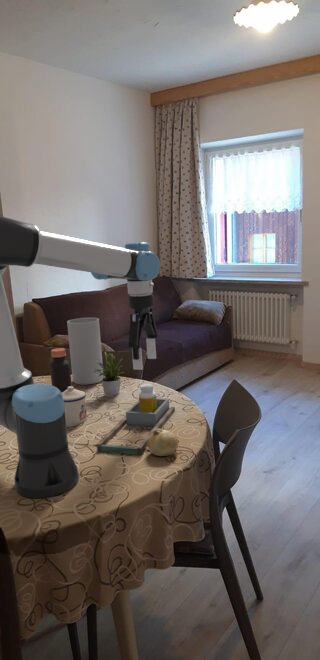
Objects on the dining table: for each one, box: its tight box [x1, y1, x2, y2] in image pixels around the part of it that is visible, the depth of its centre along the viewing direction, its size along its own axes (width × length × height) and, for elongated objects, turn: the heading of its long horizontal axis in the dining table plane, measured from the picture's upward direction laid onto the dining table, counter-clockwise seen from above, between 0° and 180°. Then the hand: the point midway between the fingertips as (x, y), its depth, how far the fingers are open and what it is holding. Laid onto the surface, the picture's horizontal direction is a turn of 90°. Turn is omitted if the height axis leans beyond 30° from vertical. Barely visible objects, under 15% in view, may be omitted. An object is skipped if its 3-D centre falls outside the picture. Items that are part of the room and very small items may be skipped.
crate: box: [125, 397, 171, 428], centre depth 159 cm, size 14×10×4 cm
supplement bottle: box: [138, 383, 157, 413], centre depth 159 cm, size 5×5×10 cm
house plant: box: [94, 351, 125, 398], centre depth 186 cm, size 14×14×16 cm
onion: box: [147, 428, 179, 457], centre depth 135 cm, size 8×8×7 cm
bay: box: [96, 406, 176, 455], centre depth 152 cm, size 32×13×2 cm, turn 162°
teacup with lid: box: [62, 385, 88, 427], centre depth 162 cm, size 12×9×12 cm
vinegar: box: [49, 347, 73, 393], centre depth 177 cm, size 7×7×20 cm
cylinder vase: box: [66, 317, 105, 386], centre depth 204 cm, size 12×12×25 cm
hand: (145, 363), depth 157 cm, fingers open, 12 cm apart
